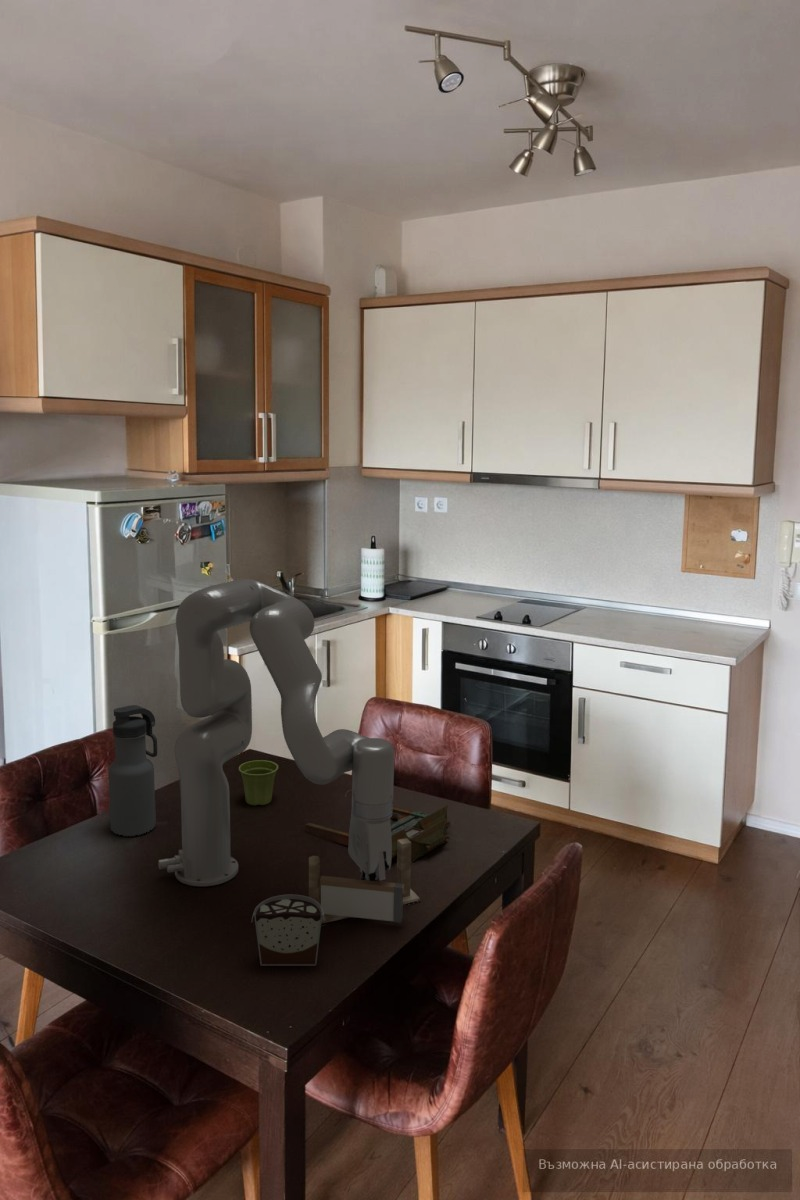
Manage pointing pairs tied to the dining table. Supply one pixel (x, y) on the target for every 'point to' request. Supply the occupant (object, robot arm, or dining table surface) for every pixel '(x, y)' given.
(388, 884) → the panel
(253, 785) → the plant pot
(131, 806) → the water bottle
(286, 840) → the dining table surface
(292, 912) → the food container
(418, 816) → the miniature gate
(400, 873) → the gate frame
